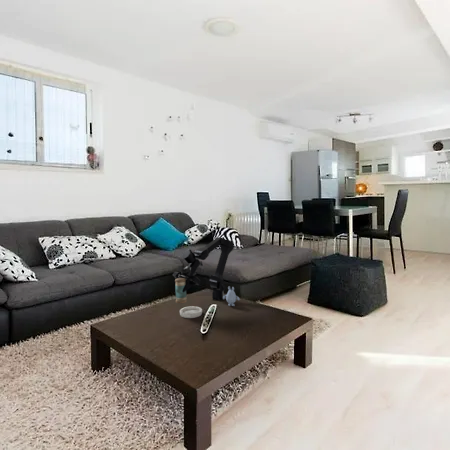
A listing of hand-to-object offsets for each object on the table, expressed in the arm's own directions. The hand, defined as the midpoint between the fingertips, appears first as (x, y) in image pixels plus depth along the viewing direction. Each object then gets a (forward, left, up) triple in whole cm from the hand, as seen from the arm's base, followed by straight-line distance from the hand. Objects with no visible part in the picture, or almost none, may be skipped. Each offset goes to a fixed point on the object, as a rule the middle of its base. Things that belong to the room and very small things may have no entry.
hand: (179, 290), depth 197 cm
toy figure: (-28, -16, -14) cm, 35 cm away
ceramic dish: (-7, 0, -13) cm, 15 cm away
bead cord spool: (-1, -1, -7) cm, 7 cm away
